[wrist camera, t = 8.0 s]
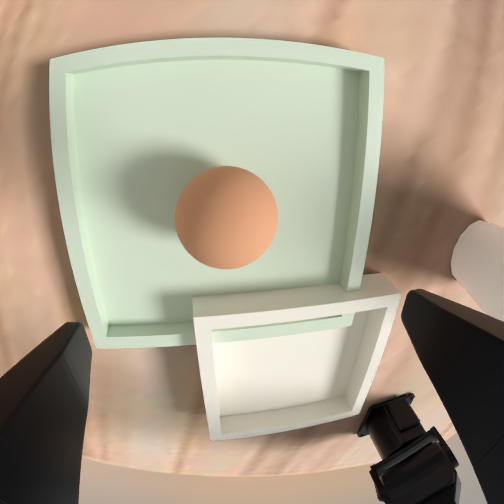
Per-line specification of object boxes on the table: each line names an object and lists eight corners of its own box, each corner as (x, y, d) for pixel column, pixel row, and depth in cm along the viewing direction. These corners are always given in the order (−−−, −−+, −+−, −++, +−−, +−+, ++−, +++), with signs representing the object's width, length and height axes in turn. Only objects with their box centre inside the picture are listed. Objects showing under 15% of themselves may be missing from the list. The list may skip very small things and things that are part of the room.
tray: (340, 310, 24) (351, 325, 22) (101, 330, 21) (96, 348, 19) (367, 61, 16) (384, 58, 14) (63, 63, 13) (49, 59, 11)
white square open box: (347, 392, 29) (358, 414, 26) (207, 415, 26) (210, 441, 24) (381, 272, 23) (401, 293, 20) (191, 290, 21) (193, 317, 18)
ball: (263, 241, 19) (287, 283, 15) (179, 247, 18) (178, 293, 14) (265, 158, 17) (294, 176, 13) (173, 161, 16) (168, 180, 12)
